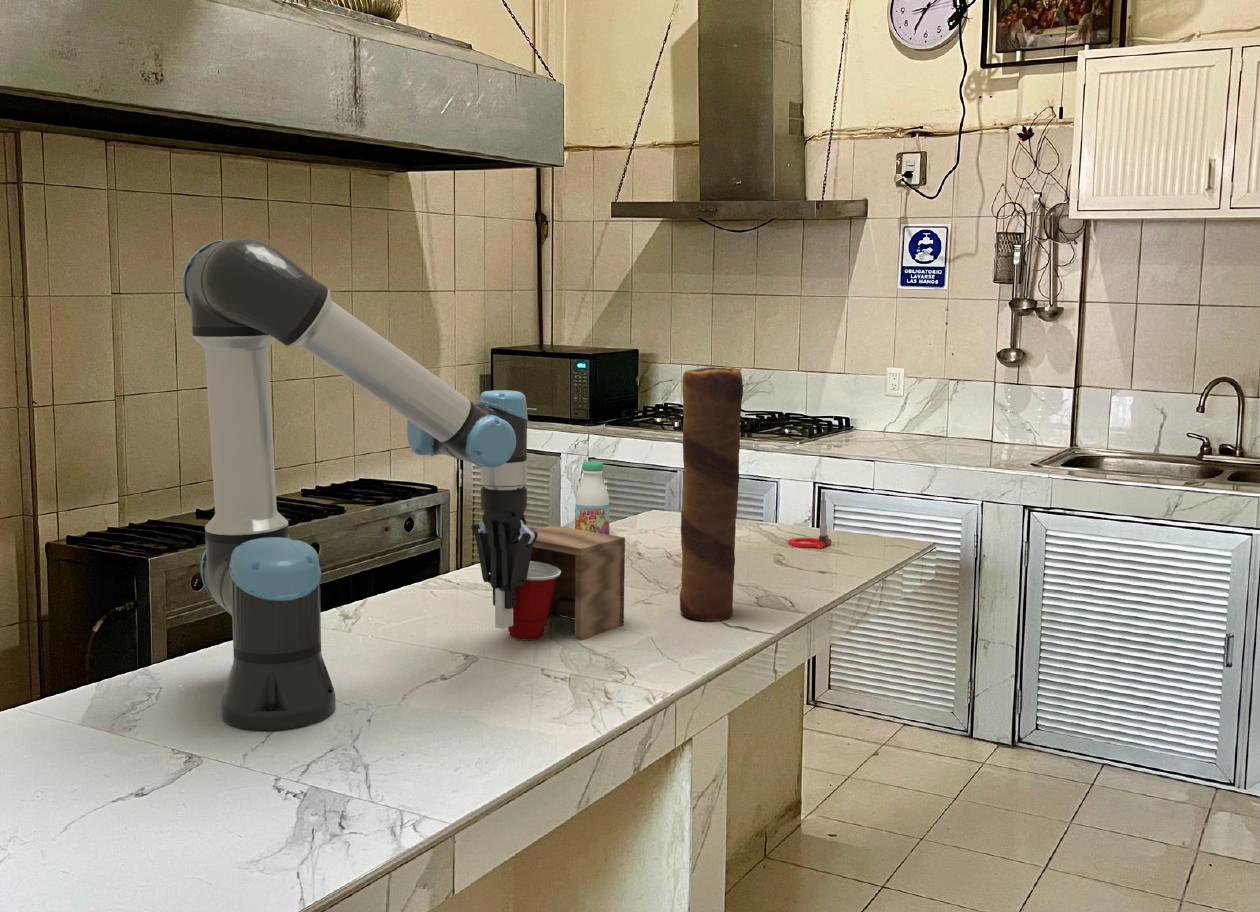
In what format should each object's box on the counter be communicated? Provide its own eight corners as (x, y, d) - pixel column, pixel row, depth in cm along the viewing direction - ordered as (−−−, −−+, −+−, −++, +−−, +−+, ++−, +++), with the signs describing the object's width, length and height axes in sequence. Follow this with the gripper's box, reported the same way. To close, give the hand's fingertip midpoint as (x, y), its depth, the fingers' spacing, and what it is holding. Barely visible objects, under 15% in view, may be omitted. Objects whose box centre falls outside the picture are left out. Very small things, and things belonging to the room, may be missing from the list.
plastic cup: (530, 648, 197) (532, 576, 196) (482, 635, 204) (483, 566, 202) (572, 635, 206) (574, 566, 205) (524, 624, 212) (526, 557, 211)
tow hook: (782, 547, 280) (820, 550, 276) (782, 492, 279) (820, 494, 274) (796, 541, 287) (833, 544, 283) (795, 487, 286) (832, 489, 281)
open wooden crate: (580, 640, 203) (581, 548, 201) (508, 622, 213) (508, 535, 211) (623, 624, 213) (625, 537, 210) (553, 608, 223) (553, 525, 220)
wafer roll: (729, 625, 213) (736, 370, 207) (671, 619, 217) (676, 368, 210) (743, 611, 223) (750, 367, 217) (688, 605, 226) (693, 365, 220)
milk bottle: (571, 547, 274) (571, 460, 272) (603, 545, 277) (604, 459, 274) (579, 554, 267) (580, 465, 264) (613, 553, 269) (614, 464, 267)
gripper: (549, 487, 195) (548, 628, 199) (491, 478, 203) (491, 614, 207) (517, 493, 190) (517, 638, 193) (458, 484, 197) (460, 624, 201)
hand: (504, 626), depth 200 cm, fingers closed
